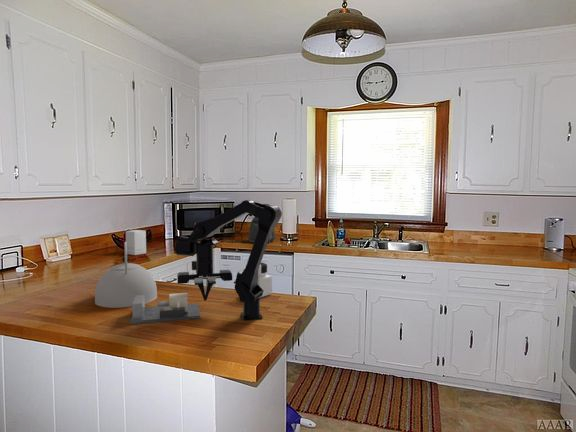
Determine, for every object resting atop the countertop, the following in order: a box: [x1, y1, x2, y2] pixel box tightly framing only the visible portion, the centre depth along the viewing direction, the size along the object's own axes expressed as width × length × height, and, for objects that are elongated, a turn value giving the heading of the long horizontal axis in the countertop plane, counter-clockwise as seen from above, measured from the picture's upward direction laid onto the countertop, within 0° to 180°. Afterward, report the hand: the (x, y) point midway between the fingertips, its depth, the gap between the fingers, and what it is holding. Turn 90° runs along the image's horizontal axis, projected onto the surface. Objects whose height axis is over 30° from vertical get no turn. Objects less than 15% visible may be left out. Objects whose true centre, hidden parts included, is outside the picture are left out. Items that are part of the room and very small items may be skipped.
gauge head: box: [156, 292, 189, 312], centre depth 133 cm, size 10×10×5 cm
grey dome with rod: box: [94, 241, 158, 309], centre depth 152 cm, size 25×23×22 cm
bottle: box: [247, 203, 277, 244], centre depth 301 cm, size 18×16×30 cm
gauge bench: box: [129, 295, 201, 325], centre depth 134 cm, size 14×22×6 cm, turn 106°
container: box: [258, 262, 273, 299], centre depth 159 cm, size 8×8×13 cm
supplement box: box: [125, 229, 147, 256], centre depth 249 cm, size 9×9×15 cm
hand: (205, 300), depth 137 cm, fingers closed
